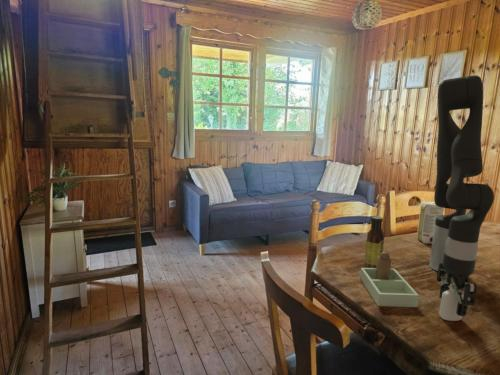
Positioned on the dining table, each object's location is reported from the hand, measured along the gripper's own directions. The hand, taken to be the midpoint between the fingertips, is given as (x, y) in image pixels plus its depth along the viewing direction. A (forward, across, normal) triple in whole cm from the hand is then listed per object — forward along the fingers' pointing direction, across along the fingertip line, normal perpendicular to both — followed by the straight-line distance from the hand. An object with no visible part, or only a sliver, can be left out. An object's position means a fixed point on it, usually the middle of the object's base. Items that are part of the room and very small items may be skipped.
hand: (451, 306), depth 93 cm
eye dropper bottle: (+4, 0, 0) cm, 4 cm away
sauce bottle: (+4, +33, +11) cm, 35 cm away
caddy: (+4, +14, +13) cm, 19 cm away
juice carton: (+4, +62, -25) cm, 67 cm away
